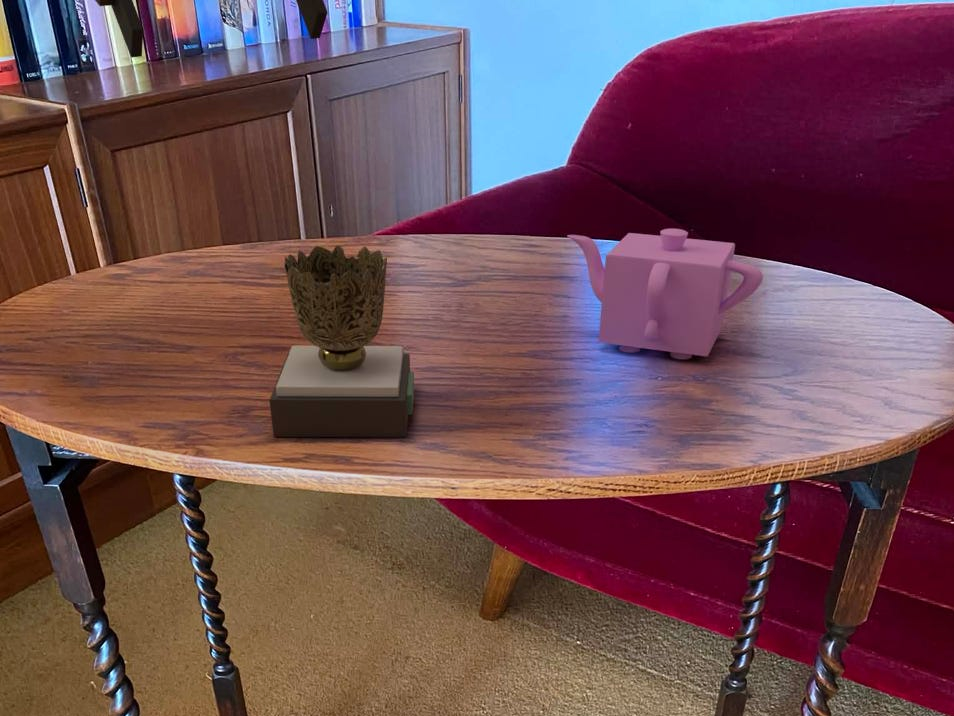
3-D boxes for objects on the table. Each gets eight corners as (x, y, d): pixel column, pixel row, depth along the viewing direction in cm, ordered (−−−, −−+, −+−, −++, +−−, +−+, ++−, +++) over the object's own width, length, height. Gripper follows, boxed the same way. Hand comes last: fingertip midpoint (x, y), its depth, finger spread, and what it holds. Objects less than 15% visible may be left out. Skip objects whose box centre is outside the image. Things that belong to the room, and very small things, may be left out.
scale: (273, 437, 72) (267, 388, 70) (291, 387, 81) (286, 343, 78) (411, 437, 73) (410, 389, 70) (415, 388, 81) (414, 343, 79)
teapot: (541, 352, 88) (547, 236, 83) (581, 309, 99) (589, 203, 93) (739, 379, 84) (761, 257, 78) (758, 331, 94) (778, 221, 88)
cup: (278, 376, 72) (266, 266, 68) (315, 344, 78) (306, 241, 73) (373, 386, 71) (367, 274, 66) (403, 353, 77) (399, 248, 72)
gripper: (279, -199, 77) (374, 52, 77) (-56, -199, 67) (55, 88, 68) (297, -294, 70) (401, -18, 70) (-74, -310, 60) (50, 11, 61)
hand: (231, 35), depth 69 cm, fingers open, 13 cm apart
